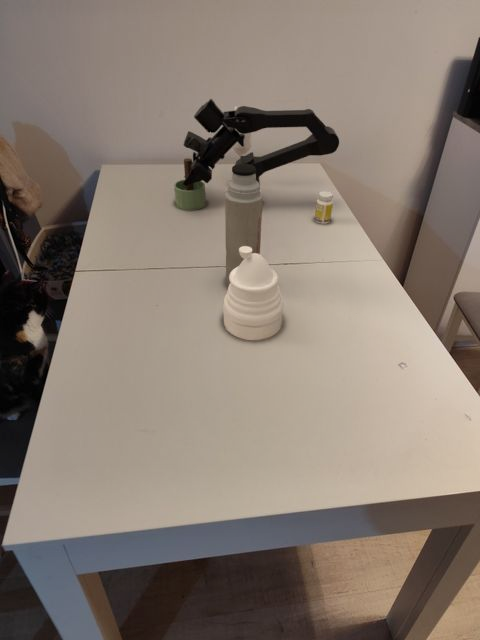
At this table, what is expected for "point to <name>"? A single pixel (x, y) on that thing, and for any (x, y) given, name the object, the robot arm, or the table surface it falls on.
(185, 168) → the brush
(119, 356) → the table surface
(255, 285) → the honey pot
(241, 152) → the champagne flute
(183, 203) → the jar
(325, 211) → the supplement bottle
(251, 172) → the thermos bottle
